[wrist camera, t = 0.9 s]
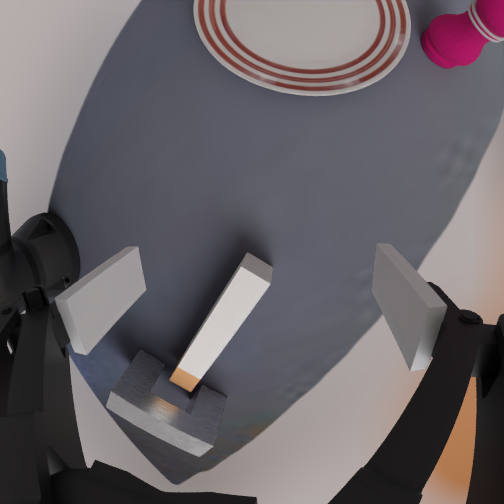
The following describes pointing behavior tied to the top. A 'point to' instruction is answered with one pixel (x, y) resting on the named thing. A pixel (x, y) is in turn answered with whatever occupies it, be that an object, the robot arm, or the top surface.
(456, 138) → the top surface
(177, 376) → the white and orange bar
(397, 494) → the robot arm
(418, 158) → the top surface
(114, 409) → the grey arch-shaped block
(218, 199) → the top surface
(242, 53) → the dinner plate
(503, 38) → the pepper mill
